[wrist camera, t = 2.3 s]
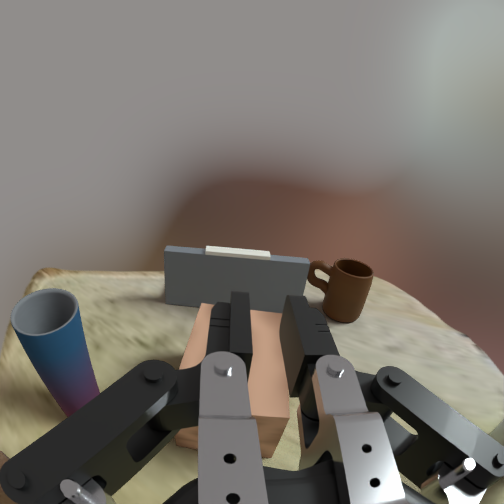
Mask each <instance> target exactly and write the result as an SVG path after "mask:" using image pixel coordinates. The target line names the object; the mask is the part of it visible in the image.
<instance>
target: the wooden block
mask: <svg viewBox="0 0 504 504" xmlns="http://www.w3.org/2000/svg"><path fill="white" fill-rule="evenodd" d="M8 460H9V458H8V457H7V456H6V455H5V454H4V453H3V452H2V451H0V470H1V467H2V466H3V464H4V463H5V462H6V461H8ZM0 504H17V503H16V502H14V501H12V500H11V499H10V498H9V497H8V496H7V495H6V494H5V493H4V491H3V489H2V487H1V484H0Z"/></svg>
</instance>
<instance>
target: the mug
mask: <svg viewBox="0 0 504 504" xmlns="http://www.w3.org/2000/svg"><path fill="white" fill-rule="evenodd" d="M315 269H320V270H321V271H323V272H324V273H326V274H327V275H329V276H330V278H329V282H328V283H327V282H326V281H325V280H323V279H319V278H317V277H316V276H315ZM373 275H374V272H373V270H372V269H371V268H370V267H369V266H368V265H366V264H364V263H362V262H360V261H357V260H353V259H347V258H343V259H338V260H336V261H335V263H334V265H333V267H332V266H330V265H329V264H327V263H325V262H324V261H313V262H312V263H310V267H309V272H308V276H307V279H308V281H309V283H310V284H311V285H313V286H315V287H317V288H320V289H321V290H322V291H323V292H324V293H325V297H324V300H323V310H324V312H325V314H326V315H327V316H329V317H330V318H332V319H334V320H336V321H339V322H353V321H355V320H356V319H358V317H359V316H360V314H361V311H362V309H363V306H364V304H365V301H366V298H367V295H368V293H369V290H370V287H371V284H372V279H373Z"/></svg>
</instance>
